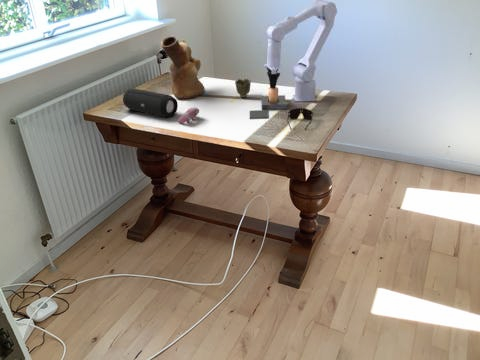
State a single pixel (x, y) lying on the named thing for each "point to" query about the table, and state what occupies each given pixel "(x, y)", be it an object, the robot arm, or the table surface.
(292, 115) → the sunglasses
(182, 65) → the ceramic vessel
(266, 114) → the mat
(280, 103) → the housing
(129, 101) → the portable speaker
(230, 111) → the table surface
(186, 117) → the pink elongated curved piece
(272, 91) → the tapered peach cylinder
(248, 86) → the cup
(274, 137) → the table surface
